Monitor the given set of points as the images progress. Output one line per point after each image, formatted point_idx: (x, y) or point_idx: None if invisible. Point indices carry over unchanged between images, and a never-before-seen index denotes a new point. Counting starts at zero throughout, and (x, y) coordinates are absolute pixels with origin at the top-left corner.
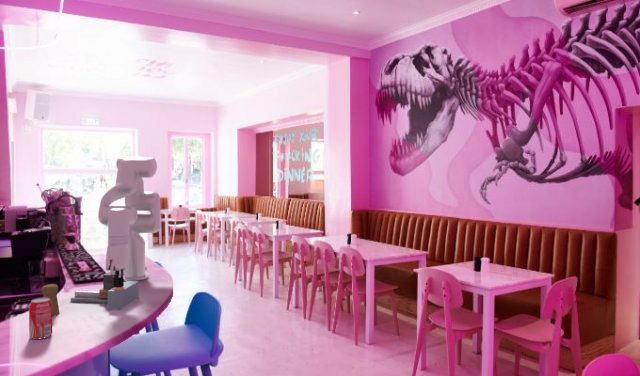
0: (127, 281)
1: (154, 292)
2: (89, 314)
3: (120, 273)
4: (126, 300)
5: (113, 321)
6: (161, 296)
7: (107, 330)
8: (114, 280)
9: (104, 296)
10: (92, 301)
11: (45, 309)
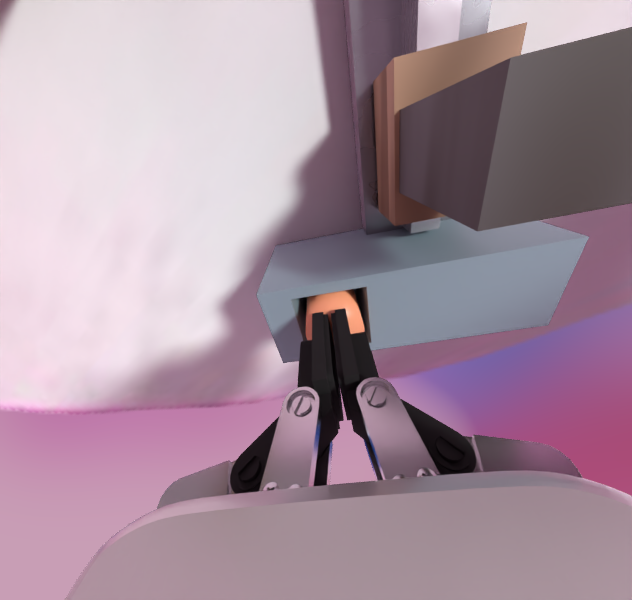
0: (563, 252)
1: (577, 280)
2: (172, 219)
3: (317, 476)
4: None
5: (183, 353)
6: (495, 337)
7: (125, 379)
8: (313, 357)
9: (378, 133)
10: (347, 24)
11: None
